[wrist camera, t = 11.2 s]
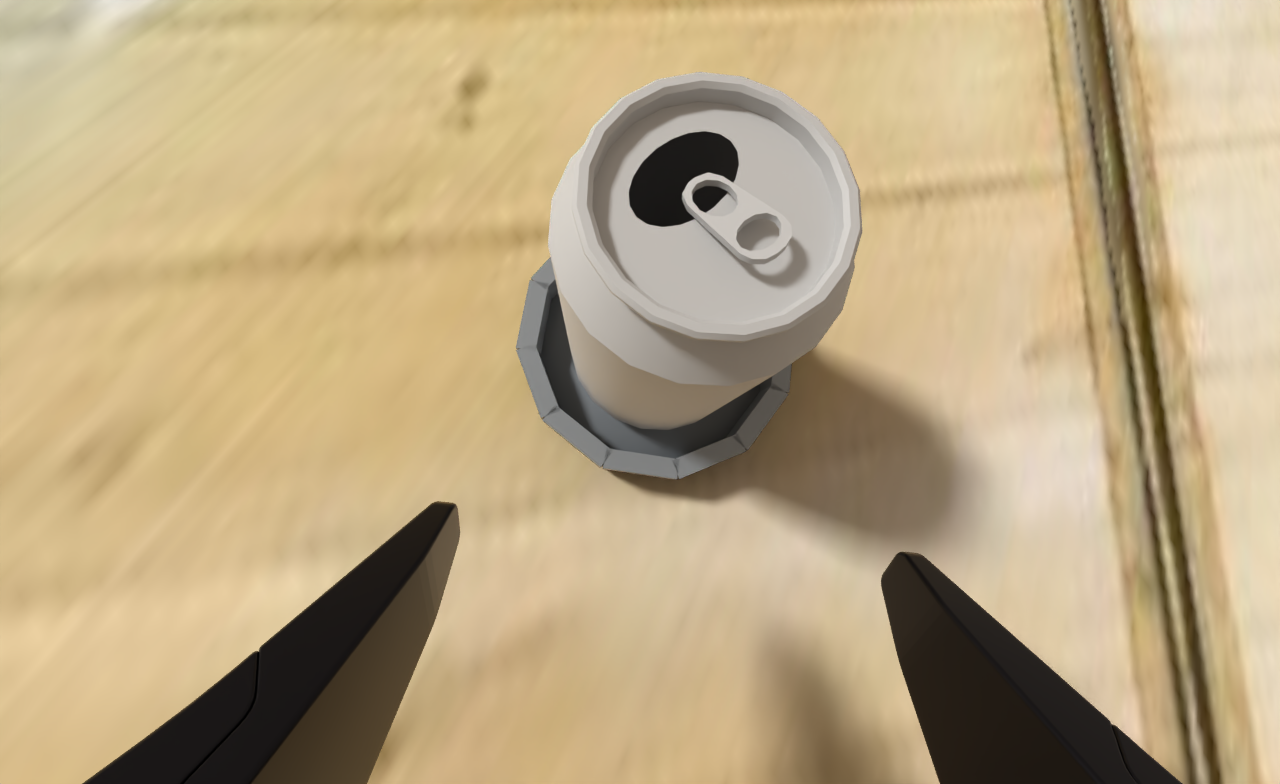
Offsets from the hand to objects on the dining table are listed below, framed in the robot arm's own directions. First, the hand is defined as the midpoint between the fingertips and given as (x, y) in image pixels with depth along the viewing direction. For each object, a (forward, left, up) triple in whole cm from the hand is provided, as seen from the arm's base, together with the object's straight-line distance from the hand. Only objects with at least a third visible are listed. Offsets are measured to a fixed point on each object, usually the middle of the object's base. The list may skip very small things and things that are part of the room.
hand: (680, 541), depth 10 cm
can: (+6, -3, -11) cm, 13 cm away
